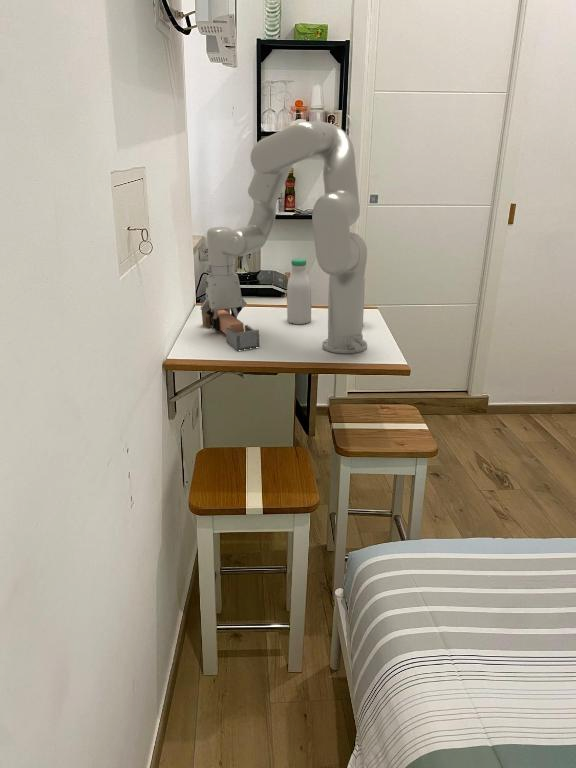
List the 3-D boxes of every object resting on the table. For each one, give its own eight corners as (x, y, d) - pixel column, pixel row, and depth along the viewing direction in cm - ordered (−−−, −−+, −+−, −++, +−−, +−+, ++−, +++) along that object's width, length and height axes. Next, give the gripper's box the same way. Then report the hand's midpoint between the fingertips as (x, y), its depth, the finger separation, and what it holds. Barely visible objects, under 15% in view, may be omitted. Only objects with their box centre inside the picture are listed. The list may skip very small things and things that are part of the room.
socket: (230, 324, 194) (229, 302, 191) (206, 328, 191) (205, 305, 188) (226, 321, 197) (225, 299, 195) (202, 324, 194) (201, 302, 191)
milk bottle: (311, 324, 193) (311, 261, 185) (287, 325, 193) (286, 262, 185) (311, 318, 200) (311, 257, 192) (287, 318, 200) (286, 257, 192)
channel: (259, 347, 172) (259, 330, 170) (237, 351, 170) (236, 333, 168) (247, 339, 180) (247, 322, 178) (226, 342, 177) (225, 325, 175)
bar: (244, 336, 179) (243, 322, 177) (230, 338, 177) (230, 324, 176) (221, 319, 195) (220, 307, 194) (209, 321, 194) (208, 308, 192)
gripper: (198, 275, 174) (202, 336, 181) (253, 269, 180) (255, 328, 187) (190, 270, 180) (194, 329, 187) (243, 265, 187) (246, 322, 194)
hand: (225, 328), depth 187 cm, fingers open, 4 cm apart
